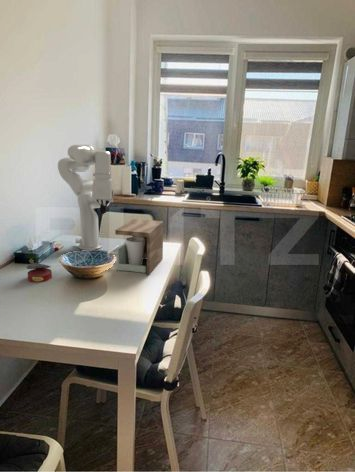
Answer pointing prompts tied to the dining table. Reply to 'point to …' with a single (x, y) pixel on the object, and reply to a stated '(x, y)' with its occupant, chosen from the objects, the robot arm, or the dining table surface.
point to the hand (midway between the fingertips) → (103, 212)
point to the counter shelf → (146, 239)
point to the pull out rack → (125, 259)
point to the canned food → (39, 272)
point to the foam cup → (135, 250)
